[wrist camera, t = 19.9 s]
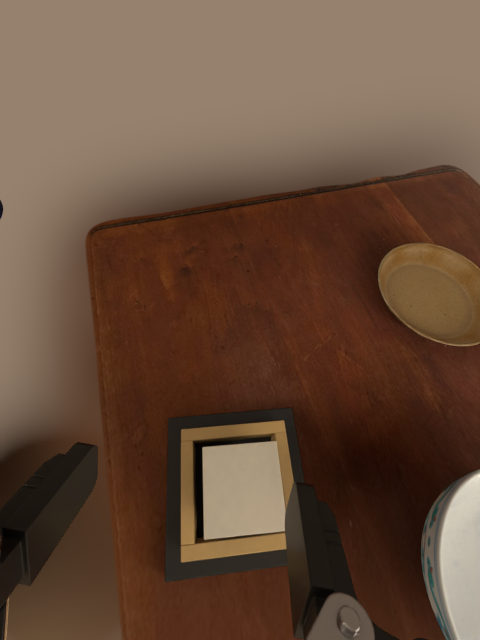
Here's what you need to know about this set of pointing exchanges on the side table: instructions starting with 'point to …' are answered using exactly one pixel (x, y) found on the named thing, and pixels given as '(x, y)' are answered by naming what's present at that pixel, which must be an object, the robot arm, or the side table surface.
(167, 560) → the wooden socket on base
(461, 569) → the chinaware
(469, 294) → the plant saucer
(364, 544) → the side table surface
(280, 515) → the block
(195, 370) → the side table surface
